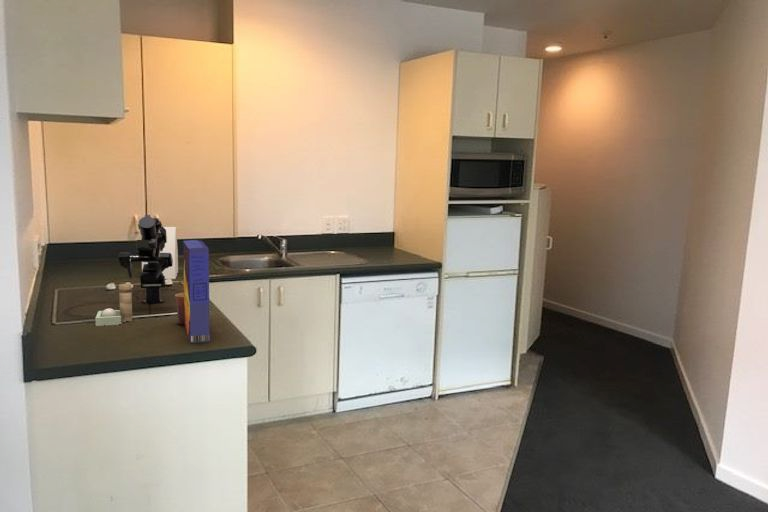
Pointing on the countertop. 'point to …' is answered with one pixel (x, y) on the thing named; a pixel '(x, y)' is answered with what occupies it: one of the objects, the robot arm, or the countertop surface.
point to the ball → (108, 312)
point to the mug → (180, 308)
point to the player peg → (125, 302)
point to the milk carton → (170, 248)
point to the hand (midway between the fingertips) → (143, 277)
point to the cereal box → (196, 291)
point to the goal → (108, 319)
